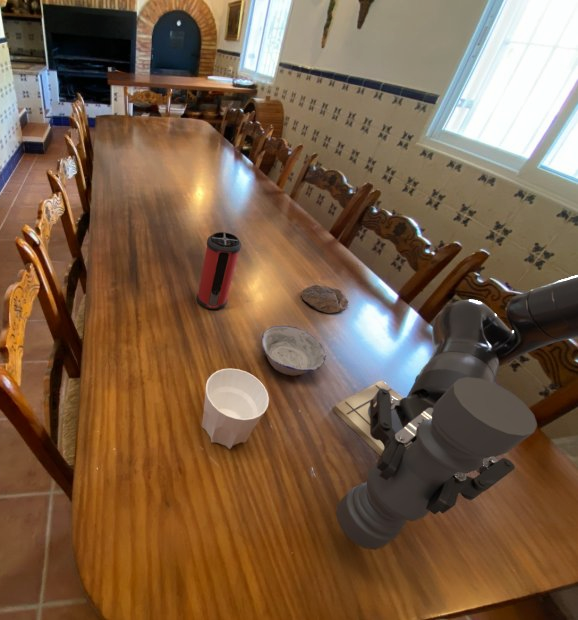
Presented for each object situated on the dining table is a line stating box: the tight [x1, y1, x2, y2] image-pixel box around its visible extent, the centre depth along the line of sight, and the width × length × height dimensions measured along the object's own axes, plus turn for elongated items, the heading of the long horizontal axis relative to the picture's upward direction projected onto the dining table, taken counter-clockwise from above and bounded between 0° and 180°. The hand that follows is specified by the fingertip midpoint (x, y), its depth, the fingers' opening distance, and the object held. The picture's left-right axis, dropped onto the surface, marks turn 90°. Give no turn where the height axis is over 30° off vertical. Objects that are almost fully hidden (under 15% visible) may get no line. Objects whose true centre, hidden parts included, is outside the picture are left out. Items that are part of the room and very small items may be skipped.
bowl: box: [261, 325, 327, 377], centre depth 75 cm, size 13×13×5 cm
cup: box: [200, 367, 270, 450], centre depth 60 cm, size 10×10×10 cm
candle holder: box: [335, 377, 538, 551], centre depth 37 cm, size 6×6×25 cm
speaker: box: [196, 231, 242, 310], centre depth 86 cm, size 8×8×18 cm
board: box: [332, 379, 413, 457], centre depth 66 cm, size 14×14×2 cm
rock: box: [300, 284, 349, 314], centre depth 94 cm, size 11×12×3 cm
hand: (410, 490), depth 35 cm, fingers closed on candle holder, 4 cm apart
